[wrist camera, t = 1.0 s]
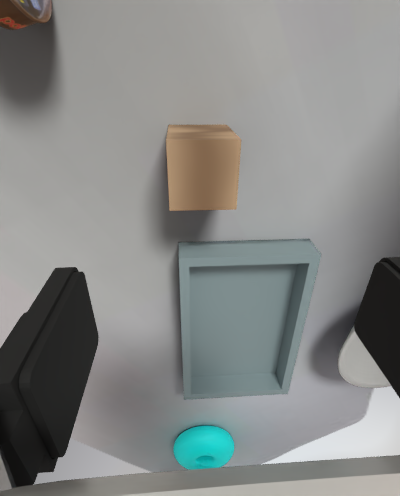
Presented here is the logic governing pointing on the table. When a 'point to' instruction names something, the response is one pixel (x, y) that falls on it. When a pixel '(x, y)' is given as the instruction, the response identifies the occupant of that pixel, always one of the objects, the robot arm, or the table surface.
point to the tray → (243, 314)
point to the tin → (24, 13)
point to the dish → (359, 364)
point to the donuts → (203, 447)
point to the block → (202, 167)
